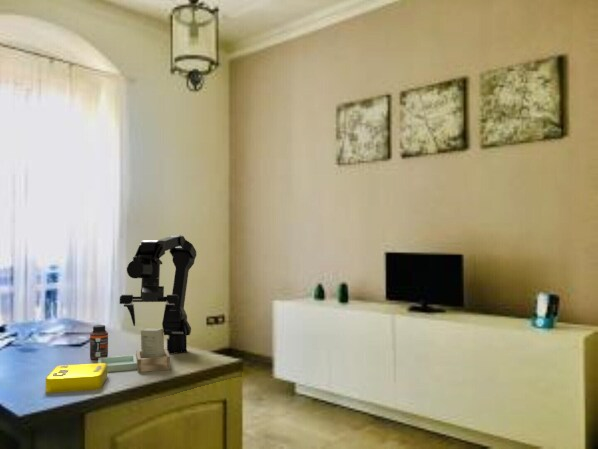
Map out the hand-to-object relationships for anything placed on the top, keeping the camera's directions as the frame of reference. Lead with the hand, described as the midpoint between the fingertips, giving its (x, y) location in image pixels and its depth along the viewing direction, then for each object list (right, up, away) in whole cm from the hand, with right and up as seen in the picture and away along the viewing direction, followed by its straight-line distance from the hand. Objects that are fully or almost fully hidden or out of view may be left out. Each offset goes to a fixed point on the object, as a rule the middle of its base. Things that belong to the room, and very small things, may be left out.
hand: (148, 325), depth 175 cm
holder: (+1, -13, 0) cm, 13 cm away
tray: (-10, -13, 0) cm, 17 cm away
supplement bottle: (-21, -14, +11) cm, 27 cm away
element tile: (-15, -14, -19) cm, 28 cm away
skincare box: (+1, -14, 0) cm, 14 cm away
